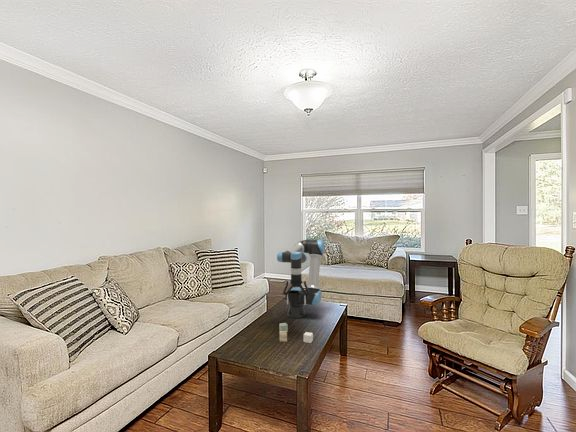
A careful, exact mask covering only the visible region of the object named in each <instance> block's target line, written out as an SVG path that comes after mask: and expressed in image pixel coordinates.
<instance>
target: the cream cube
mask: <svg viewBox="0 0 576 432" xmlns="http://www.w3.org/2000/svg"><path fill="white" fill-rule="evenodd" d="M313 340H314V333H313V332H308V331H305V333H303V343H307V344H311V343H312V342H313Z"/></svg>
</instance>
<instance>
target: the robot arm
mask: <svg viewBox="0 0 576 432" xmlns="http://www.w3.org/2000/svg"><path fill="white" fill-rule="evenodd" d="M325 251H326V245H325V243H324V241H323V240H321V239H303V240H300V241H297V242H296V243H295V244H294V245H293V246H292V247H290V248H289V249H287V250H286V251H284V252H283V251H280V252H277V254H276V260H277V262H280V263H289V264H290V280H286V284H285V287H284V290H283V292H282V294H283V295H284V296H285V300H286V305H289V307H288V310H287V317H288V318H290V319H302V318H305V317H306V310H305V306H306V305H309V306H319V304H321V301H322V296H323V295H322V291H321V288H320V287H319V281H320V280H319V279H320V267H321V258H322V257H323V255H324V254H325V253H326V252H325ZM307 254H308V255H309V259H310V260H309V268H308V281H306V280H303V279H302V275H303V274H302V264H303V263H305V262H306V261H307V260H308V255H307ZM289 284H290V287H289V288H288V286H289ZM302 284H303V285H304V287H303V286H302ZM286 290H287V291H286ZM291 290H297V291H299V292H300V293H303V294H304V295H305V296H304V299H303V300H302V298H303V294H300V298H299V303H300V302H301V300H302V302H301V303H300V305H297V306H291V305H290V302H289V298H288V293H289V291H291Z"/></svg>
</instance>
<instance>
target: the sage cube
mask: <svg viewBox="0 0 576 432" xmlns="http://www.w3.org/2000/svg"><path fill="white" fill-rule="evenodd" d="M278 327H279V329H278V330H279V332H280V331H287V333H288V332H289V325H288V324H287V322H282V323H281V322H280V323H279V325H278Z"/></svg>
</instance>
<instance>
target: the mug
mask: <svg viewBox="0 0 576 432" xmlns="http://www.w3.org/2000/svg"><path fill="white" fill-rule="evenodd" d="M300 294H303V293H300V292H299V291H297V290H291V291H289V293H288V298H289V306H290V305H291V306H297V305H300V303H301V302H302V300H303V299H304V296H305V295H304V294H303V298H302V300H301V302H300V303H299V298H300Z"/></svg>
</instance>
